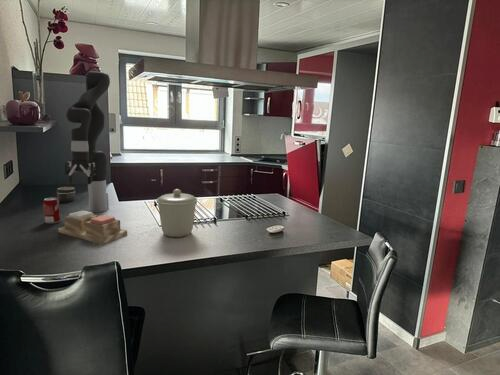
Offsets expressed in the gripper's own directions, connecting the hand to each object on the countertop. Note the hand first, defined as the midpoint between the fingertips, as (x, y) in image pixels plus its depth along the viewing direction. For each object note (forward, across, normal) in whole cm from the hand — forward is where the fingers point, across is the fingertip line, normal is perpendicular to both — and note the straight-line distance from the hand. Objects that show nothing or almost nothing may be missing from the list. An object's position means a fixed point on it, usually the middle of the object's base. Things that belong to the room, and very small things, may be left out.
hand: (80, 183), depth 171 cm
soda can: (+20, +14, +2) cm, 24 cm away
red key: (+15, -20, +18) cm, 30 cm away
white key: (+15, -7, +12) cm, 20 cm away
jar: (+17, +32, -41) cm, 55 cm away
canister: (+20, -51, +10) cm, 55 cm away
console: (+20, -13, +15) cm, 28 cm away
